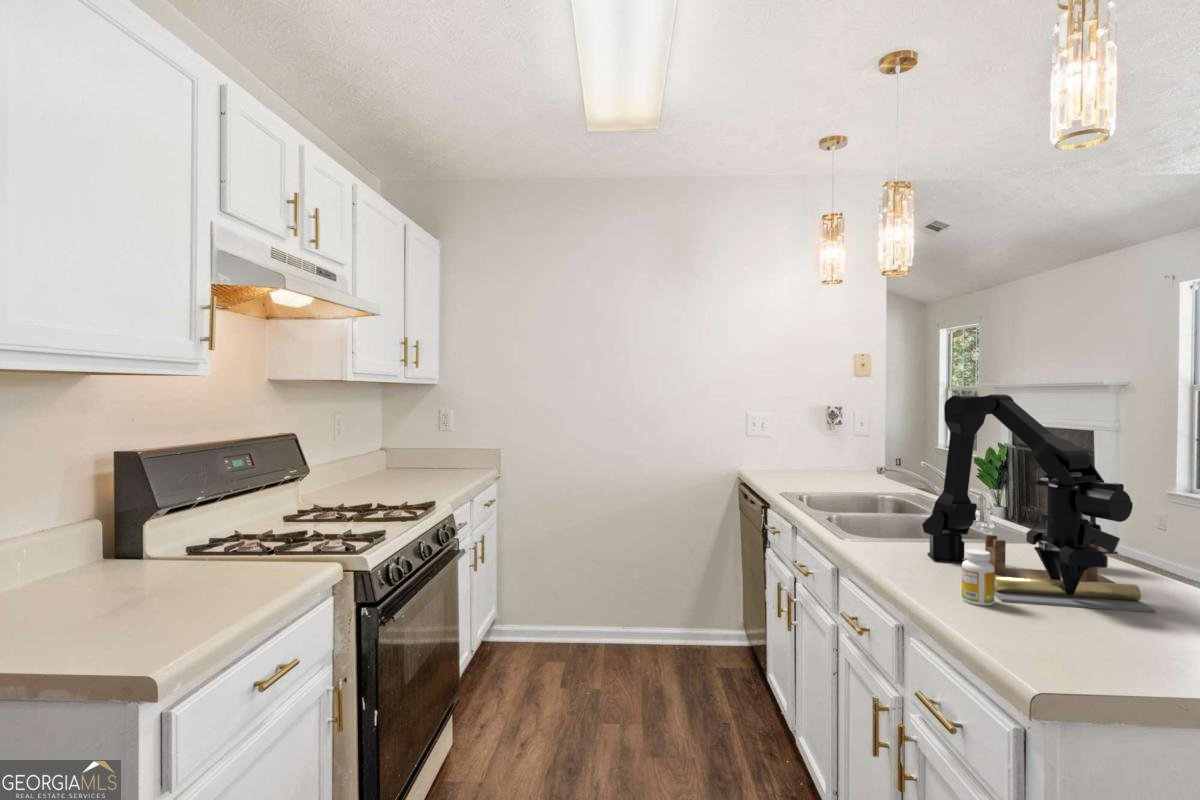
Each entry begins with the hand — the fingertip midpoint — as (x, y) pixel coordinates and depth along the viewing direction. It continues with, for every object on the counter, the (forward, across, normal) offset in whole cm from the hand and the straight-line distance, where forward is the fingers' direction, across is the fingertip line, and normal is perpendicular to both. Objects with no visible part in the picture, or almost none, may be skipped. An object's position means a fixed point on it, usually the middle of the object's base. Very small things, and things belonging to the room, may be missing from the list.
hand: (1063, 590), depth 120 cm
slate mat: (+2, 0, 0) cm, 2 cm away
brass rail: (+1, 0, 0) cm, 1 cm away
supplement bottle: (+2, -6, +17) cm, 18 cm away
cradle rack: (+2, +13, -1) cm, 13 cm away
